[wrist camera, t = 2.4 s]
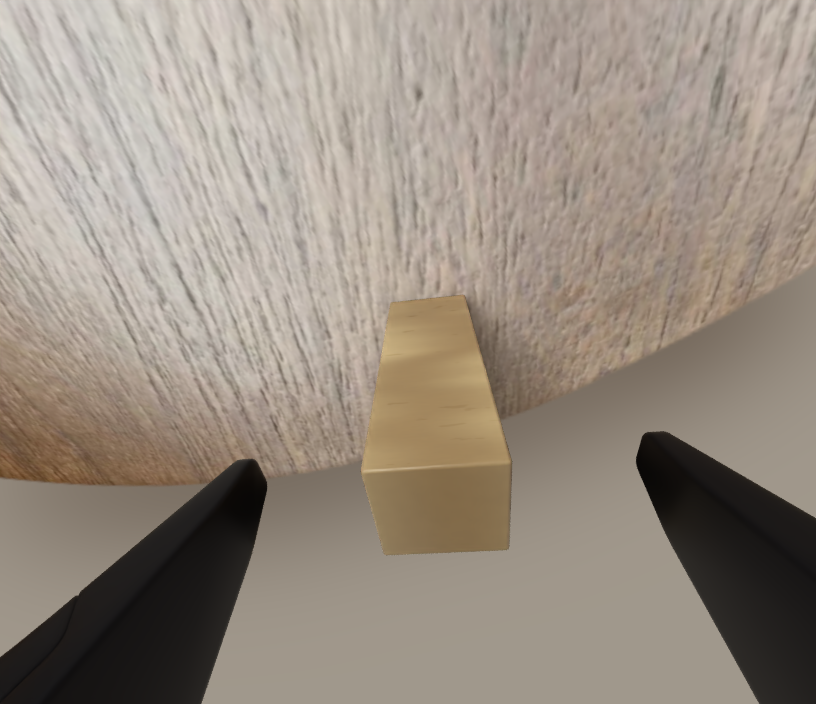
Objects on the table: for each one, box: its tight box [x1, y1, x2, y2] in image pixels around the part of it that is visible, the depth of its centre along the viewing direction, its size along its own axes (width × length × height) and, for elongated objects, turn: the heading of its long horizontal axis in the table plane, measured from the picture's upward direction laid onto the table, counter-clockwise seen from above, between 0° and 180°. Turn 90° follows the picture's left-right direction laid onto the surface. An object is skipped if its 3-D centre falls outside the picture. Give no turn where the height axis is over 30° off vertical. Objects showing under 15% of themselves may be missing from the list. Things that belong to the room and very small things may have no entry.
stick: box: [361, 295, 512, 555], centre depth 11 cm, size 3×3×8 cm
